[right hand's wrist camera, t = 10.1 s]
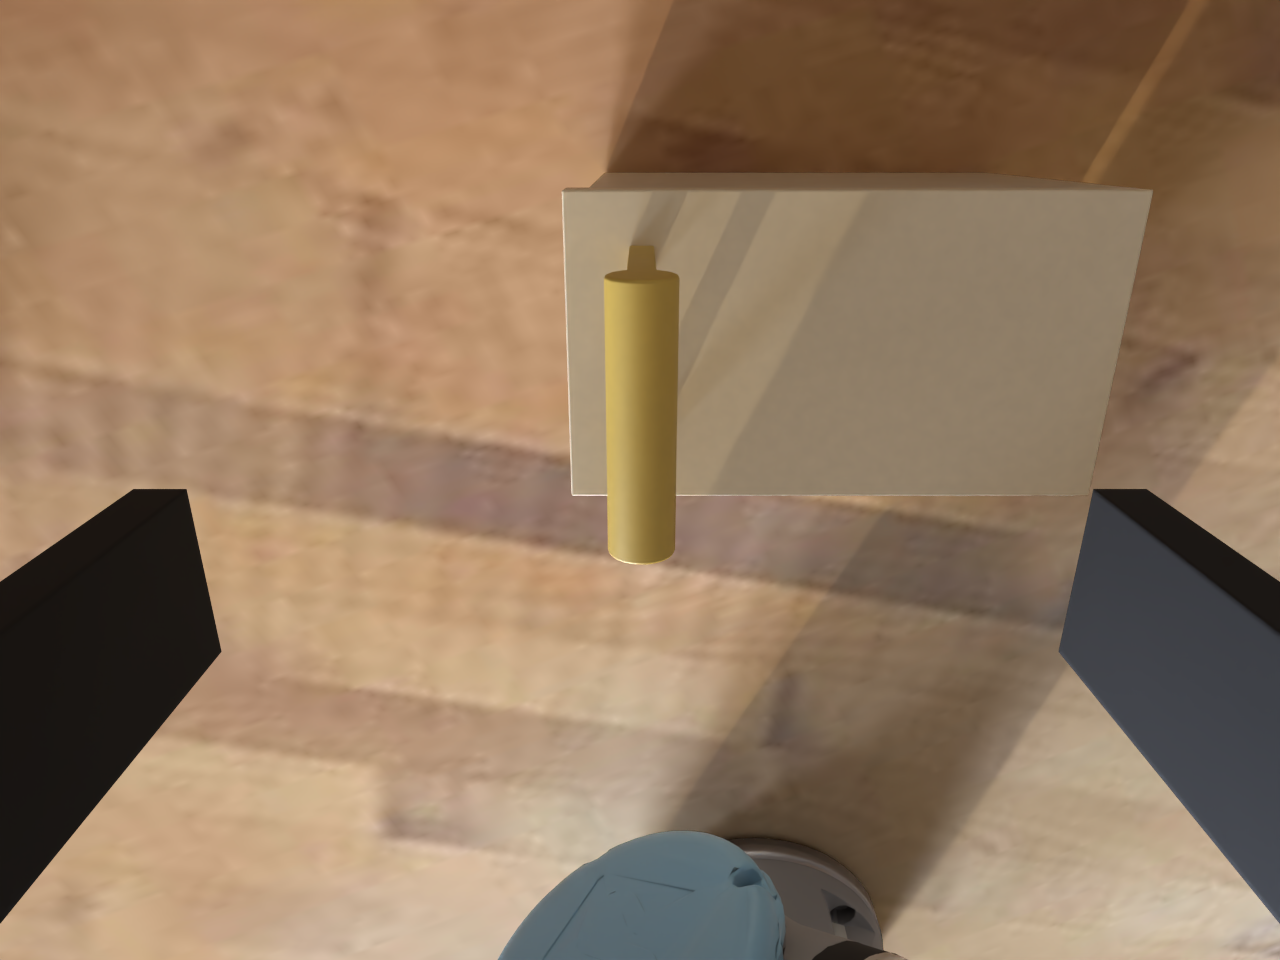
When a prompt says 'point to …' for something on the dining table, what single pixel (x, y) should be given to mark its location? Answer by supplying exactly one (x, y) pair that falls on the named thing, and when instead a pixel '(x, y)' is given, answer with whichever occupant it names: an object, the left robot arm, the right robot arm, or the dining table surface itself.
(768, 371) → the lid
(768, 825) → the dining table surface
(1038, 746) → the dining table surface
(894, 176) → the chest
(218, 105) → the dining table surface
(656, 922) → the left robot arm
